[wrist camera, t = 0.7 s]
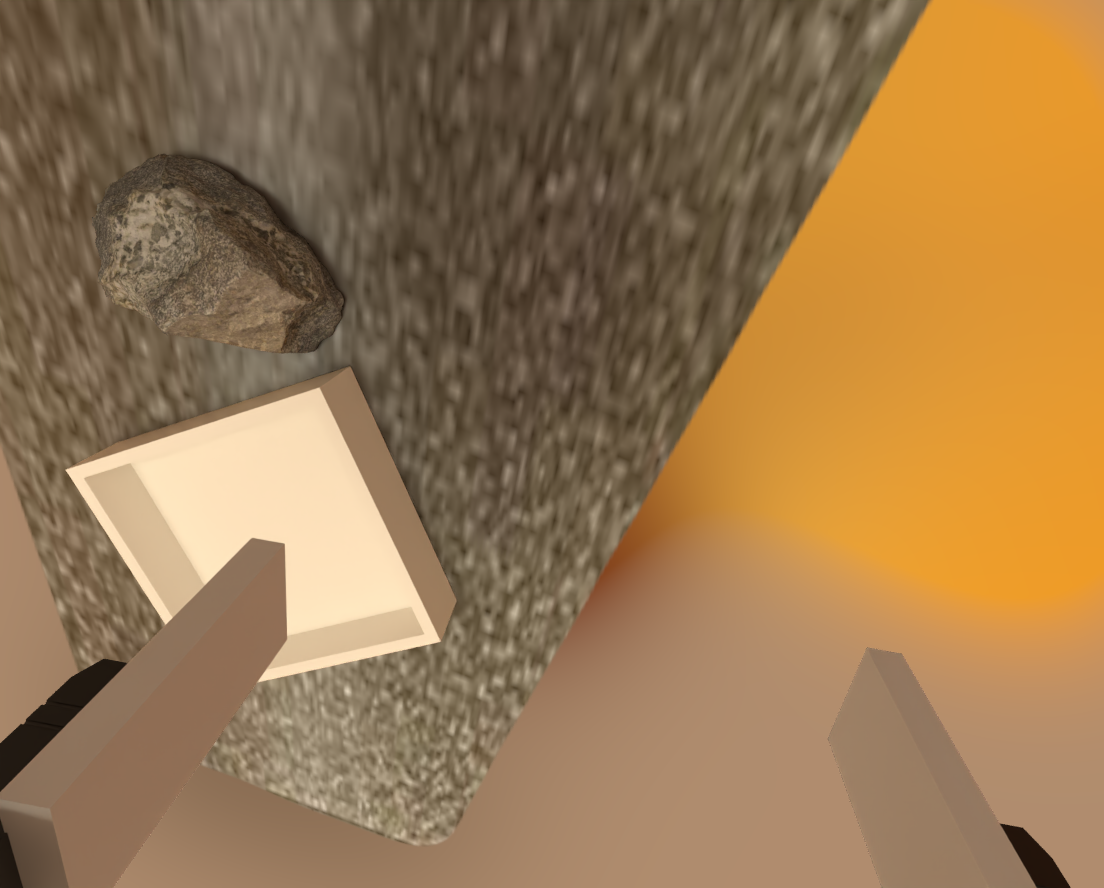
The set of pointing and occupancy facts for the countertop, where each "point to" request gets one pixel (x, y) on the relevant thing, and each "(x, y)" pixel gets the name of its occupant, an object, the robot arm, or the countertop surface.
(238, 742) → the countertop surface
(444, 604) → the dish
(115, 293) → the rock
